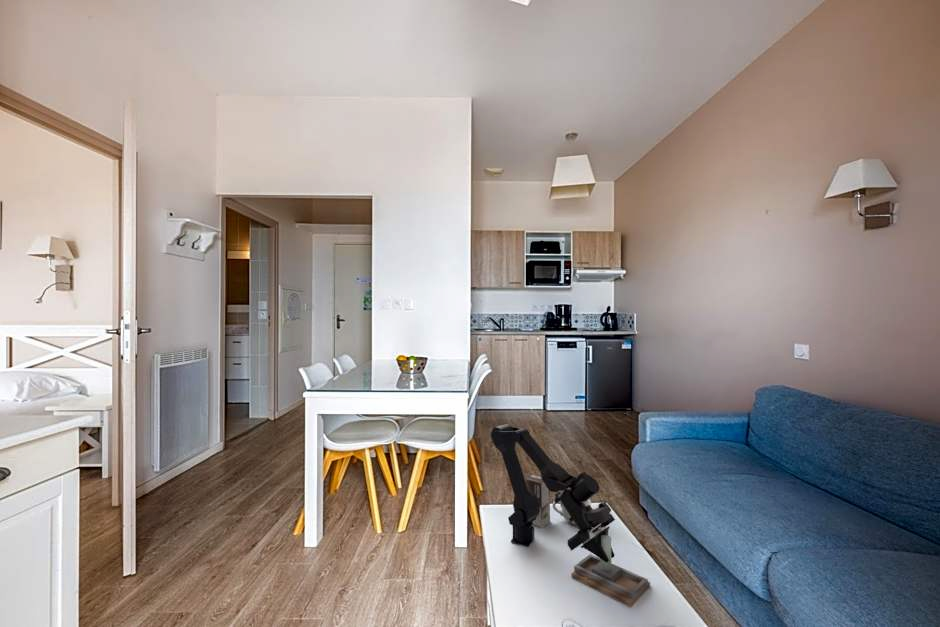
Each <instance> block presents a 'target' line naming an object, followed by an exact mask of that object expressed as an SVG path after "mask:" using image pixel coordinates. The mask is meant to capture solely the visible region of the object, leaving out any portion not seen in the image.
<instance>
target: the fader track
mask: <svg viewBox="0 0 940 627" xmlns="http://www.w3.org/2000/svg"><path fill="white" fill-rule="evenodd" d="M600 561H601V559H600V558H599V557H598V556H596V555H595V554H592V553H590V554H589V553H588V555H587V556H585V557H584V558H582V560H580V561H579V562H577V563H576V564H575V565H574V566H573V572H572V573H571V579H574V580H576V581H577V582H580V583H582V584H583V585H586V586H588V587H590V588H591V589H594V590H595V591H598V592H600V593H601V594H604V595H606V596H608V597H610V598H612V599H614V600H615V601H618V602H619V603H621V604H622V605H623V604H624V605H626V606H628V607H629V608H632V606H633V605H634V604H636V603H637V601H638V600H639V599H640V598H641V597H642V596H643V595H644V594H645V593H646V592H647V590H648V589H649V588H651V582H650V581H649V579H647V578H645V577H644V576H641V575H639V574H636V573H634V572H632V571H629V570H627V569H626V568H622V567H621V566H619V565H616V564H614V563H612V562H611V564H612V565H614V566H617V567H619V568H621V576H620V577H619V578H618V579H617V580H616V581H614V582H612V581H609V580H607V579H605V578H603V577H601V576H599V575H597V574H595V573H593V572H592V568H593V567H594V566H595V565H597V564H598V563H599V562H600Z"/></svg>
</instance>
